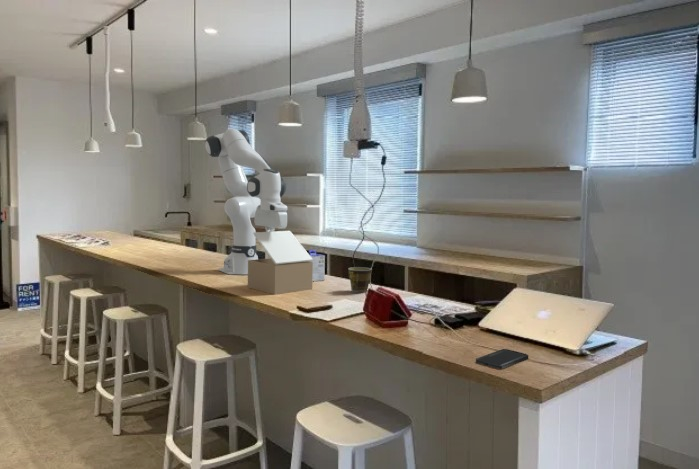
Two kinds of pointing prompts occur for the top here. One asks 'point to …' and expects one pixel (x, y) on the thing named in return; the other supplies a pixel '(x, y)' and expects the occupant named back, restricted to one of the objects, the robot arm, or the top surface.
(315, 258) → the ink cartridge box
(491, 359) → the phone
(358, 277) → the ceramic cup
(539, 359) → the top surface
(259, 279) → the carton
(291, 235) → the lid flap
